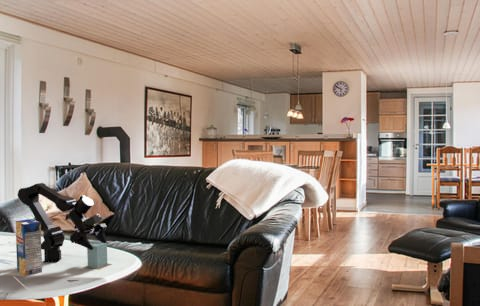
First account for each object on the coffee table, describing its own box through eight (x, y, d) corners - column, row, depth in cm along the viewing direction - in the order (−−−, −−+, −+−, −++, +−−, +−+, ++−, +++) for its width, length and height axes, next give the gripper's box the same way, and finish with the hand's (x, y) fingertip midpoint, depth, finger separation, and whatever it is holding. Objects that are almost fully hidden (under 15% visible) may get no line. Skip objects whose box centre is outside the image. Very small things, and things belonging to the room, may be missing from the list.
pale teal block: (87, 266, 214) (87, 245, 214) (97, 263, 220) (97, 242, 220) (97, 268, 212) (97, 246, 212) (107, 264, 218) (106, 243, 217)
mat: (61, 277, 202) (61, 276, 202) (85, 272, 208) (85, 271, 208) (69, 283, 194) (69, 282, 194) (93, 278, 200) (93, 277, 200)
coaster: (82, 268, 214) (82, 267, 214) (96, 263, 222) (96, 262, 222) (98, 270, 210) (98, 269, 210) (112, 265, 218) (112, 264, 218)
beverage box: (25, 276, 204) (23, 224, 203) (17, 270, 212) (15, 220, 211) (42, 272, 208) (40, 222, 207) (33, 267, 216) (31, 218, 215)
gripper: (74, 212, 208) (94, 240, 204) (103, 205, 225) (123, 231, 221) (60, 229, 212) (81, 256, 208) (90, 221, 229) (109, 246, 225)
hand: (99, 247), depth 215 cm, fingers open, 9 cm apart
